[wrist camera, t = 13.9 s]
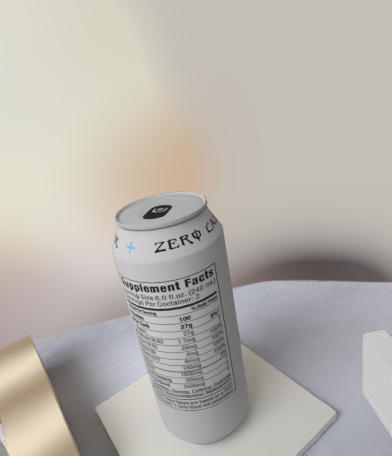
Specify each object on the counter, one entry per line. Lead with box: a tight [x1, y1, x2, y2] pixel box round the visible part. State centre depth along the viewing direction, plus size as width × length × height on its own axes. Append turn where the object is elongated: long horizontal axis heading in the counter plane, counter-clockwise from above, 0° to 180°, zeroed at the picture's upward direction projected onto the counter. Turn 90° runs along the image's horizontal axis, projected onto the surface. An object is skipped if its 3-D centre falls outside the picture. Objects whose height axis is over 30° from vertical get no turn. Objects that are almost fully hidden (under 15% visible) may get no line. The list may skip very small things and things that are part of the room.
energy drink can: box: [112, 191, 249, 445], centre depth 21 cm, size 6×6×15 cm
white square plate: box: [95, 343, 337, 456], centre depth 24 cm, size 12×12×1 cm
